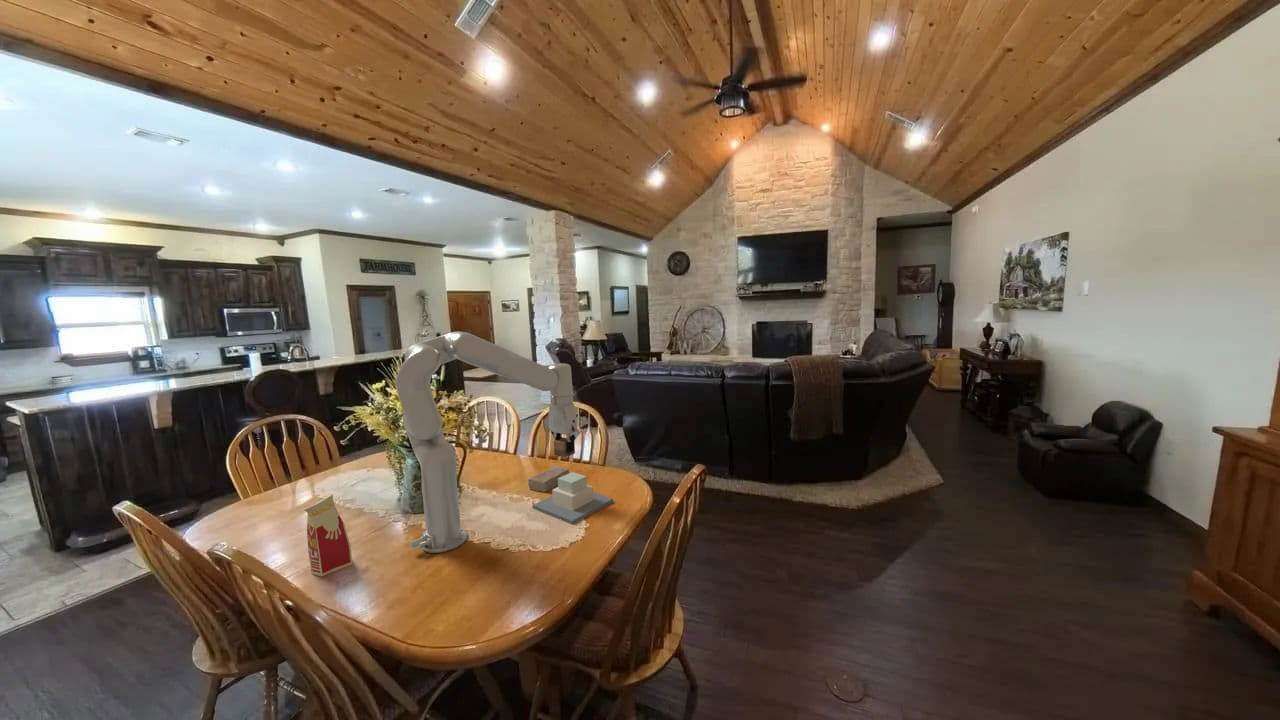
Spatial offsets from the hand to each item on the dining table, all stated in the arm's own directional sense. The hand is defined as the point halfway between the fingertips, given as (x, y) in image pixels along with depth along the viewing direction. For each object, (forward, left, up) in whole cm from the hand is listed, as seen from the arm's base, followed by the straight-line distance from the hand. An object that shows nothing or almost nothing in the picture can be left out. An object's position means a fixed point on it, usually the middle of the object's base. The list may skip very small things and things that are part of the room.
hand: (565, 450), depth 156 cm
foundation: (+1, -2, -20) cm, 20 cm away
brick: (+9, +20, -21) cm, 30 cm away
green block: (+1, -2, -14) cm, 14 cm away
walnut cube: (0, 0, -1) cm, 1 cm away
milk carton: (-64, +27, -20) cm, 73 cm away
